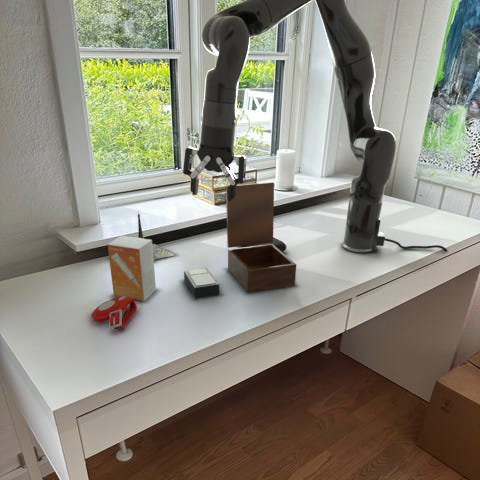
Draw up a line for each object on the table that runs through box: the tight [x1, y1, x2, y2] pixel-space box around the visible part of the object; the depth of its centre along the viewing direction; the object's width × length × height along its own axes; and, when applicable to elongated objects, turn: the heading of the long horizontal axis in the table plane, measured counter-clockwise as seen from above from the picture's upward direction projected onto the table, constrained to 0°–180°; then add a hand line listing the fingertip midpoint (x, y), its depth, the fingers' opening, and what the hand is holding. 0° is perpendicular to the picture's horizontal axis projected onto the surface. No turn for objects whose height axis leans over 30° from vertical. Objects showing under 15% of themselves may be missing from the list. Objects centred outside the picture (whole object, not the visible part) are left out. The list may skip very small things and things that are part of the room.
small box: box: [107, 235, 157, 302], centre depth 108 cm, size 8×6×13 cm
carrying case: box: [243, 236, 288, 253], centre depth 137 cm, size 11×3×15 cm
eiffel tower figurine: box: [137, 210, 175, 261], centre depth 128 cm, size 15×10×13 cm
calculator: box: [183, 267, 220, 299], centre depth 114 cm, size 10×6×3 cm, turn 20°
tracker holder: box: [91, 296, 138, 331], centre depth 100 cm, size 12×4×10 cm
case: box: [227, 244, 297, 294], centre depth 119 cm, size 15×13×6 cm
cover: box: [225, 181, 275, 249], centre depth 120 cm, size 16×13×1 cm
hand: (212, 197), depth 111 cm, fingers open, 8 cm apart
